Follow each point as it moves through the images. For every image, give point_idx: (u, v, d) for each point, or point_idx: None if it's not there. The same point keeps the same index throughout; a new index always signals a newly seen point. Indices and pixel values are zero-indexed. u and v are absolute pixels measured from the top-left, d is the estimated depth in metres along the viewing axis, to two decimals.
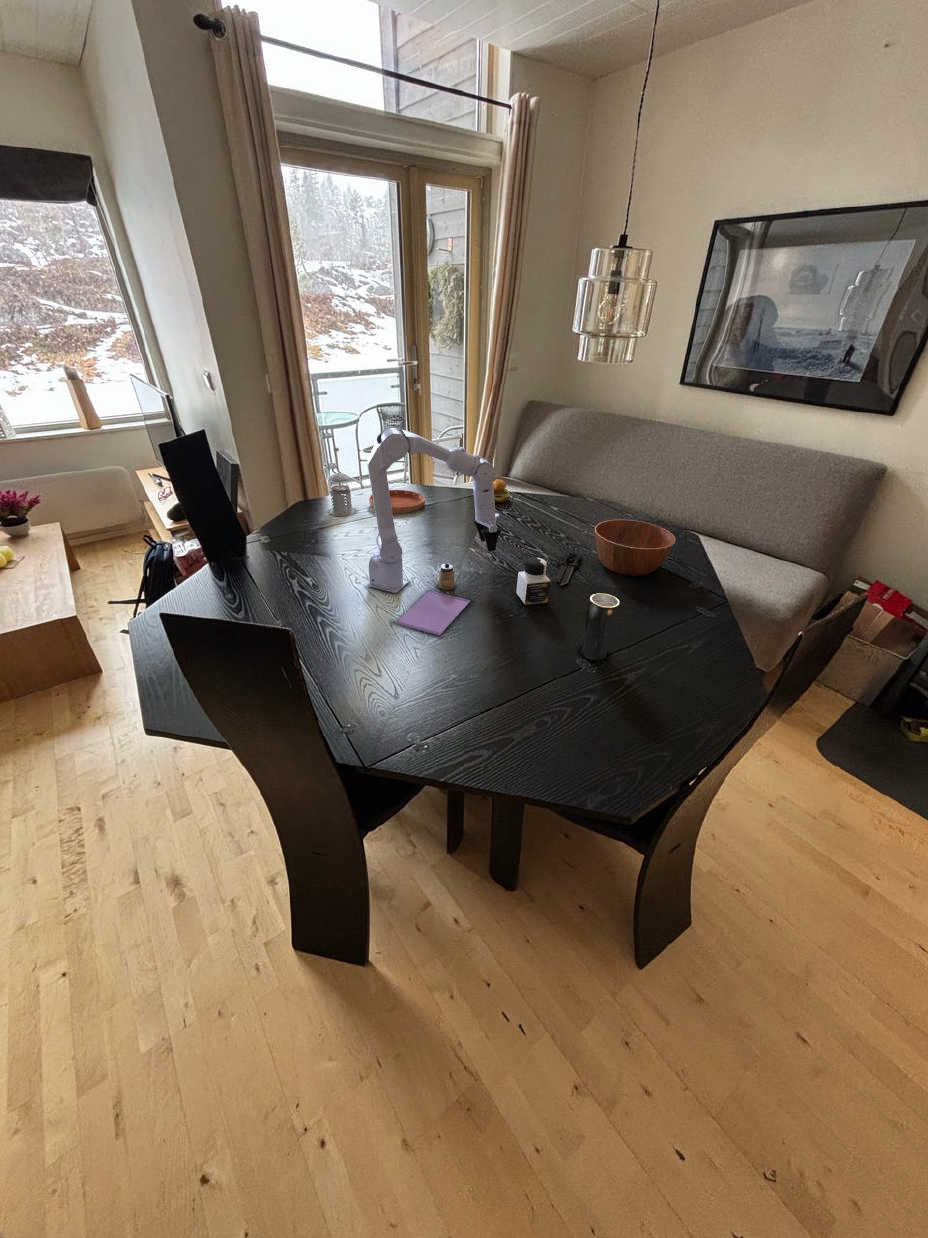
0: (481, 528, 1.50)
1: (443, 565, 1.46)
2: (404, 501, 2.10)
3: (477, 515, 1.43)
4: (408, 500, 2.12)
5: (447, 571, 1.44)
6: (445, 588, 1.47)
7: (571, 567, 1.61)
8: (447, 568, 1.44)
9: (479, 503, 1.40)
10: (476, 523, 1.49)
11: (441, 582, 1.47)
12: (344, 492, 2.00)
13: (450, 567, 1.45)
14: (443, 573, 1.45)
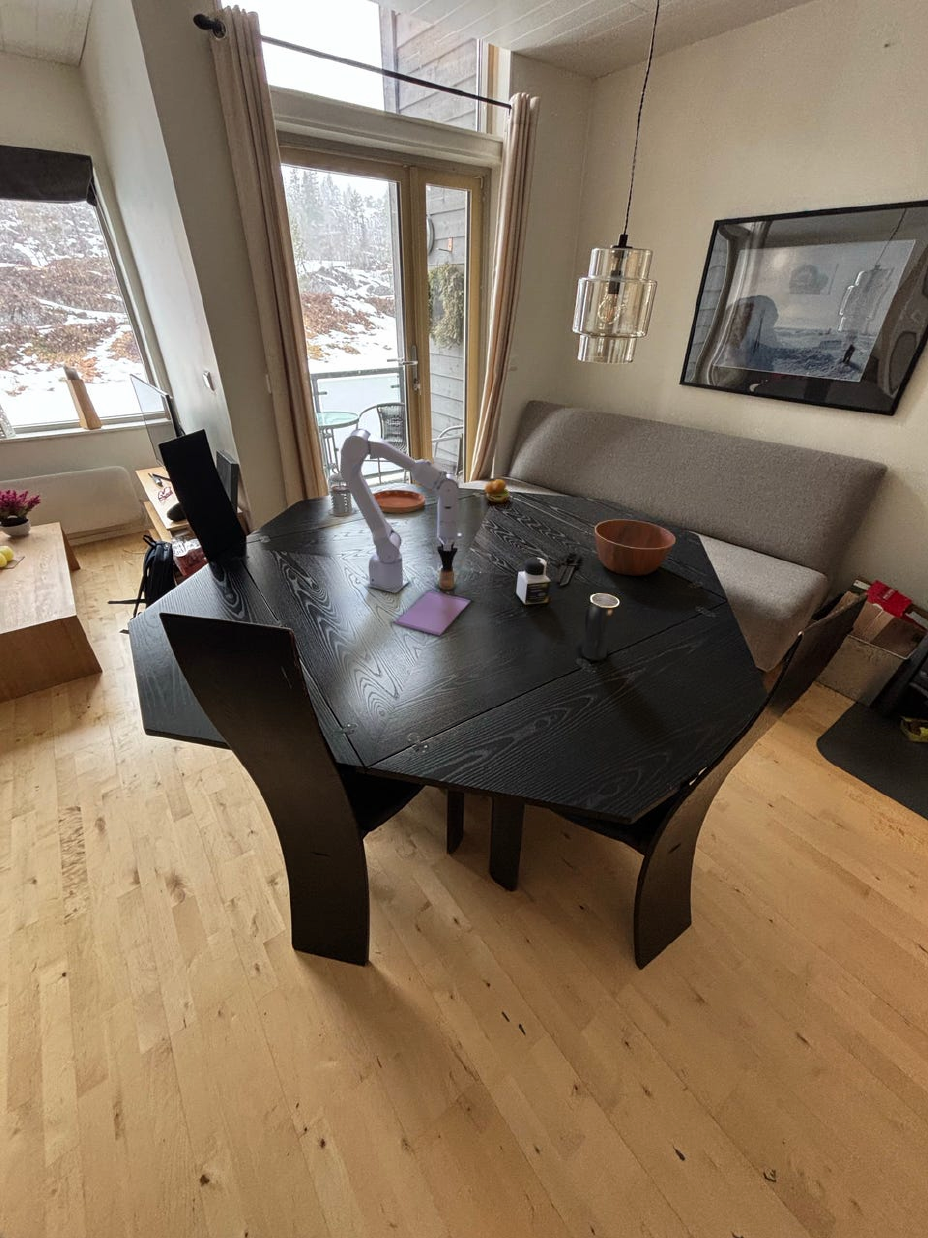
0: None
1: None
2: (404, 501, 2.10)
3: (438, 531, 1.39)
4: (408, 500, 2.12)
5: (447, 571, 1.44)
6: (445, 588, 1.47)
7: (571, 567, 1.61)
8: None
9: (440, 519, 1.36)
10: None
11: (441, 582, 1.47)
12: (344, 492, 2.00)
13: None
14: (443, 573, 1.45)
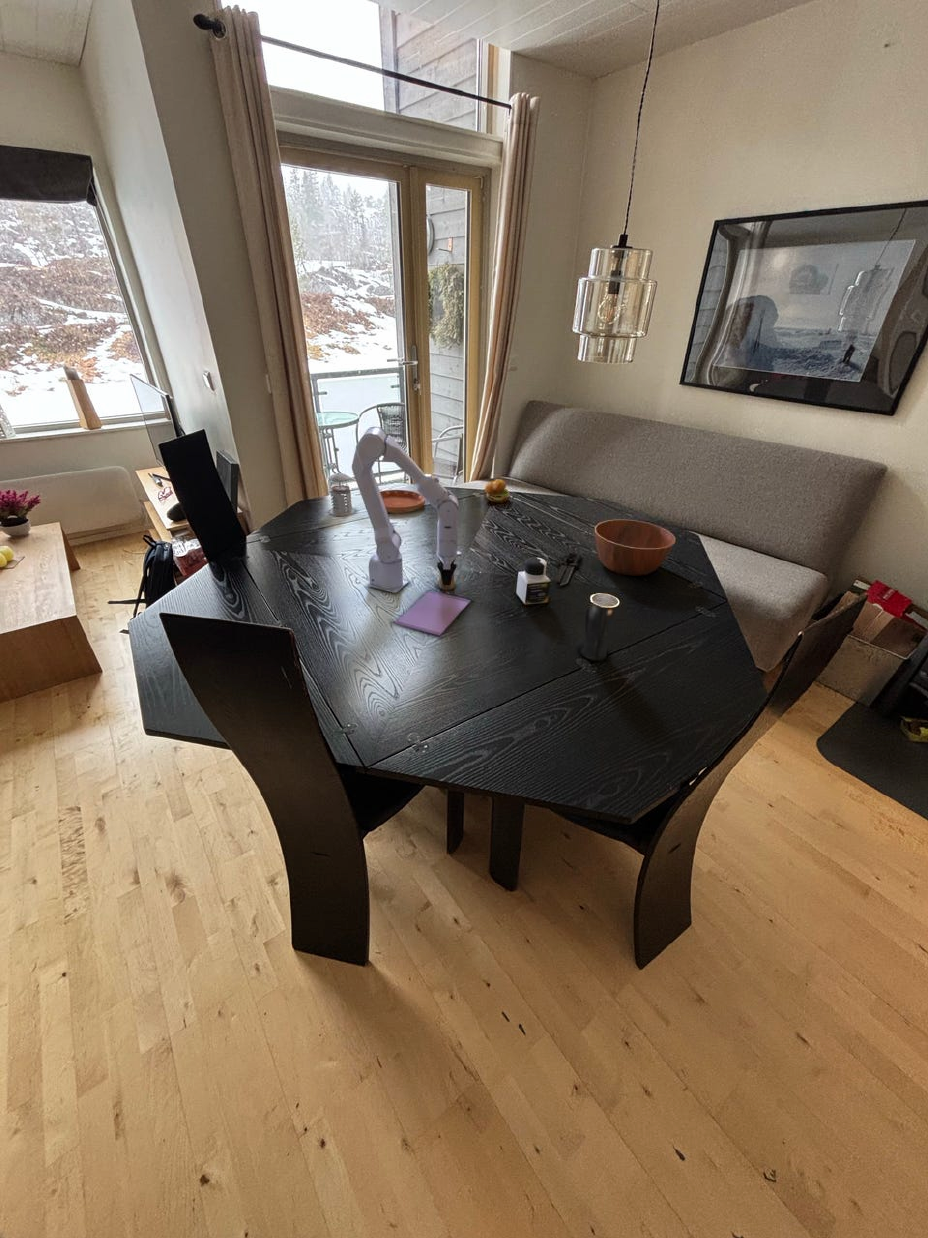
0: None
1: None
2: (404, 501, 2.10)
3: (437, 549, 1.42)
4: (408, 500, 2.12)
5: None
6: (445, 588, 1.47)
7: (571, 567, 1.61)
8: None
9: (440, 538, 1.39)
10: None
11: (441, 582, 1.47)
12: (344, 492, 2.00)
13: None
14: None
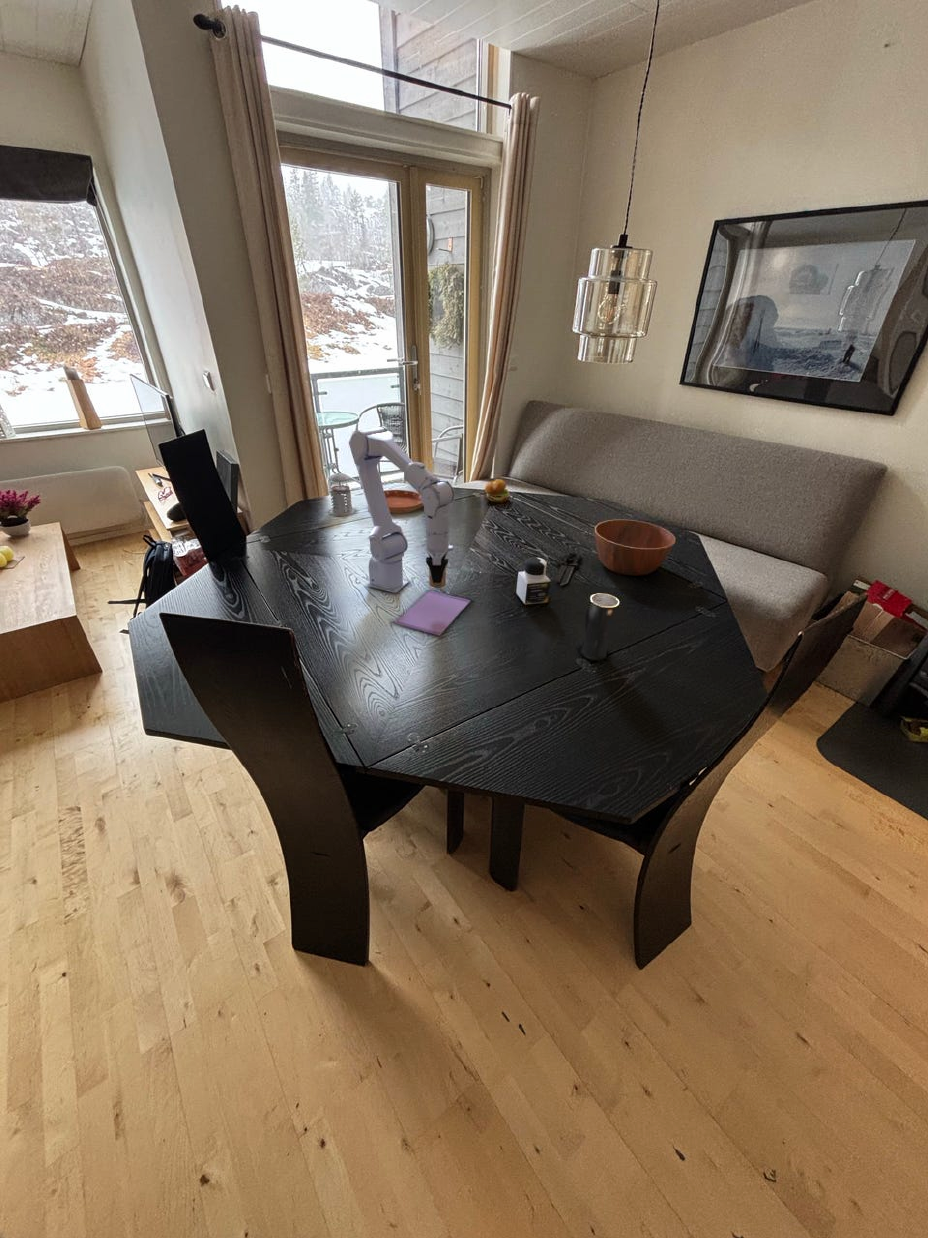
0: None
1: None
2: (404, 501, 2.10)
3: (427, 543, 1.27)
4: (408, 500, 2.12)
5: None
6: (436, 586, 1.33)
7: (571, 567, 1.61)
8: None
9: (426, 527, 1.26)
10: None
11: (431, 579, 1.32)
12: (344, 492, 2.00)
13: None
14: None
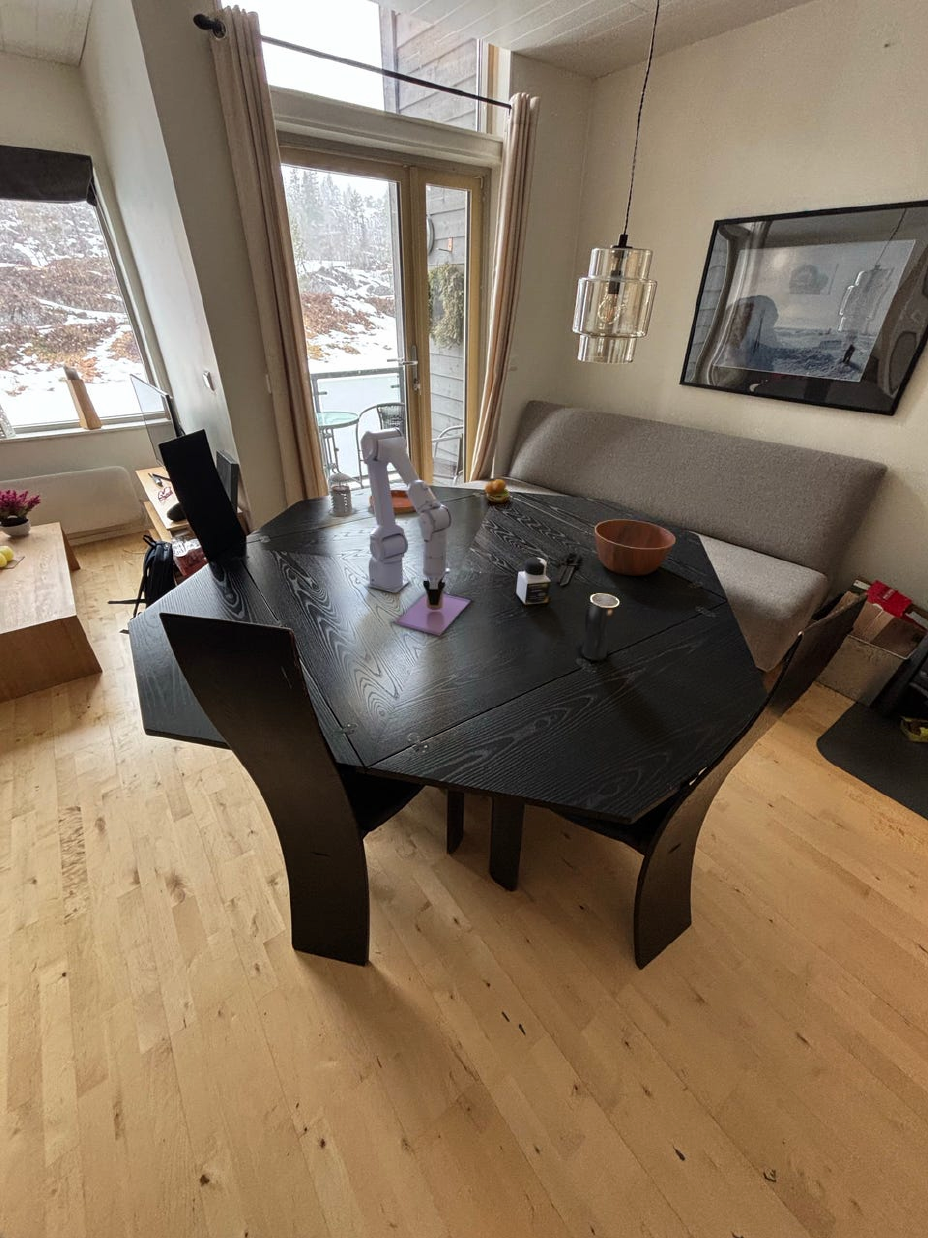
0: None
1: None
2: (404, 501, 2.10)
3: (424, 566, 1.28)
4: (408, 500, 2.12)
5: None
6: (433, 608, 1.33)
7: (571, 567, 1.61)
8: None
9: None
10: None
11: (428, 602, 1.33)
12: (344, 492, 2.00)
13: None
14: None
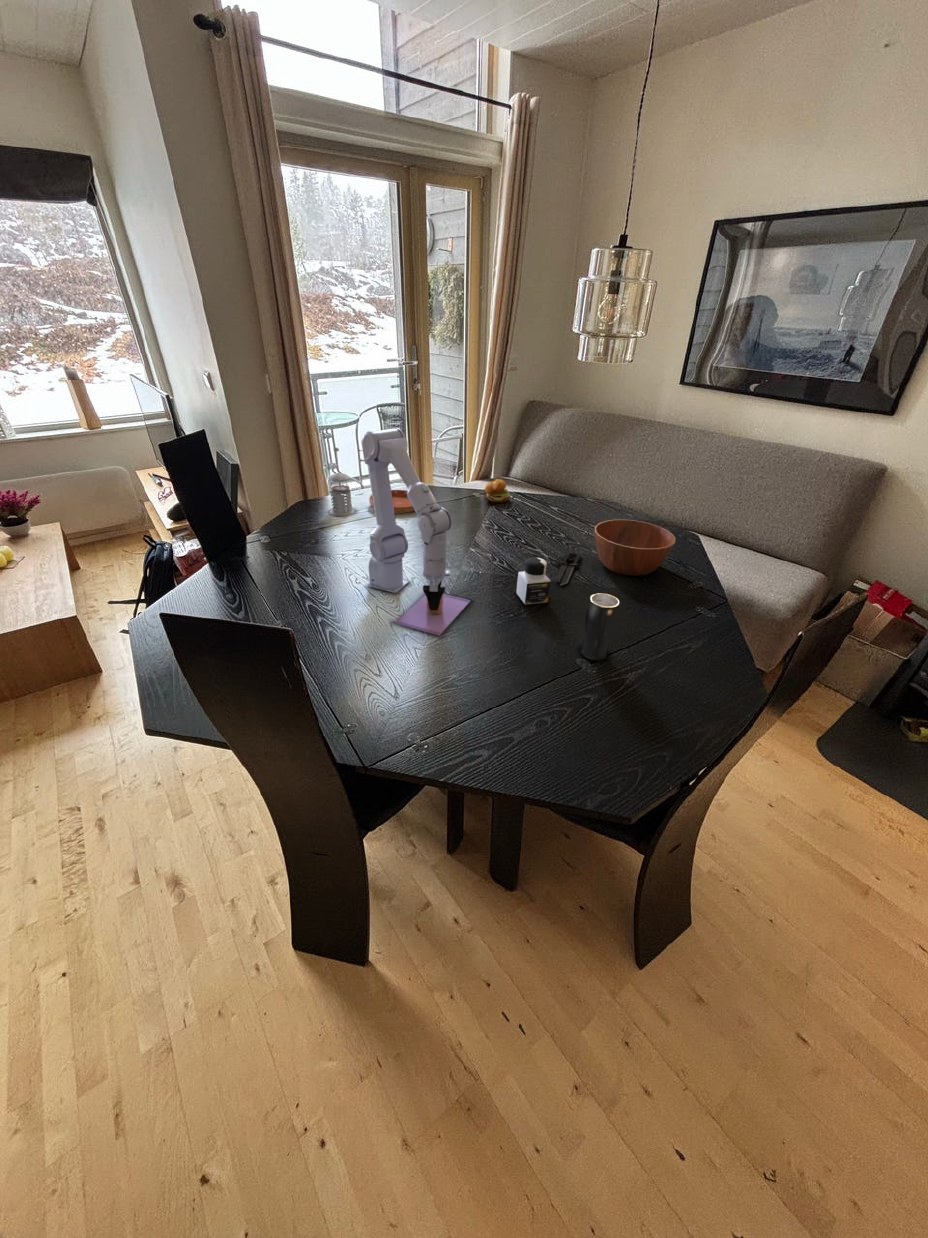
0: None
1: None
2: (404, 501, 2.10)
3: (424, 568, 1.28)
4: (408, 500, 2.12)
5: None
6: (433, 613, 1.34)
7: (571, 567, 1.61)
8: None
9: None
10: None
11: (428, 607, 1.33)
12: (344, 492, 2.00)
13: None
14: None
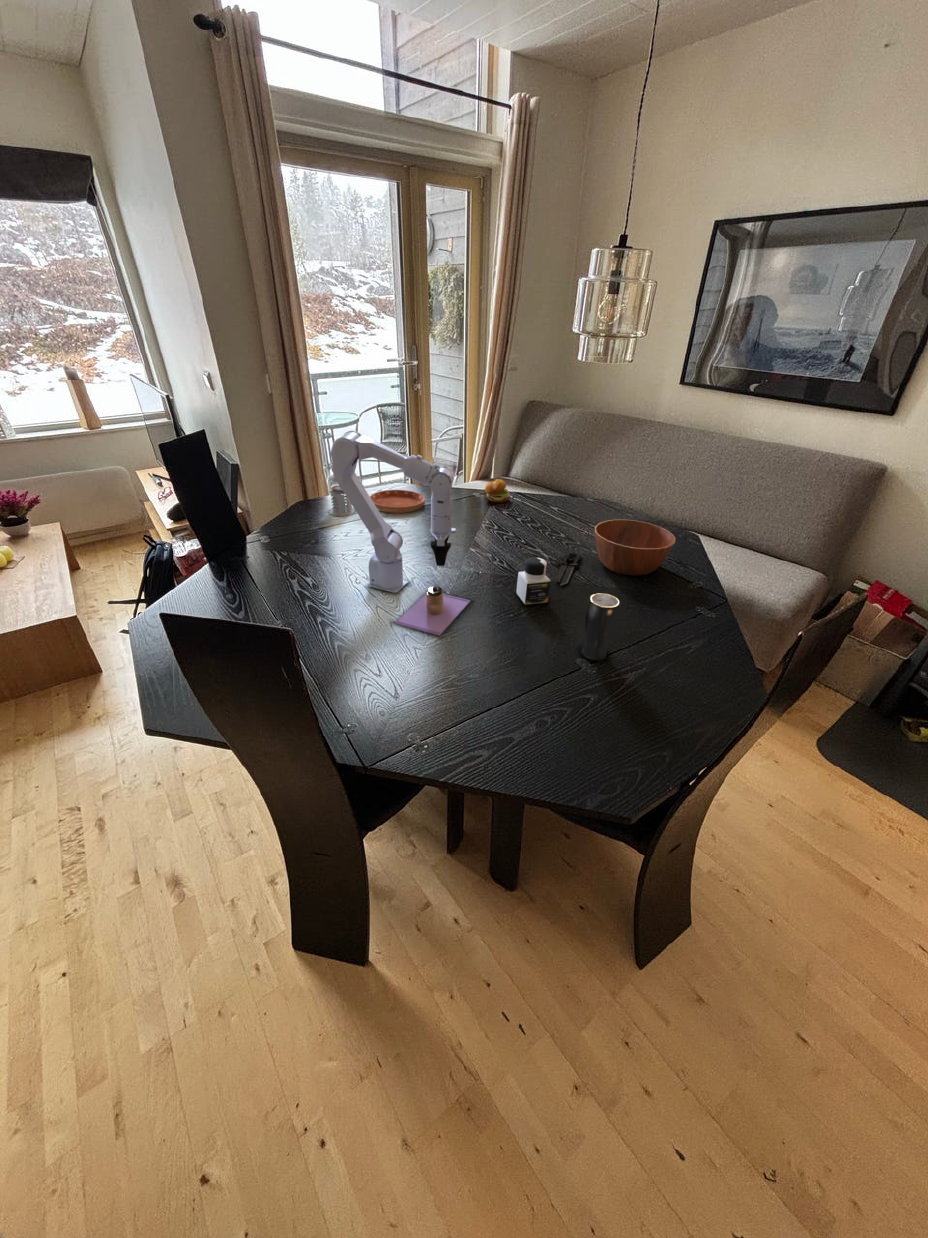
0: None
1: (431, 588, 1.33)
2: (404, 501, 2.10)
3: (431, 525, 1.36)
4: (408, 500, 2.12)
5: (435, 595, 1.31)
6: (433, 613, 1.34)
7: (571, 567, 1.61)
8: (435, 592, 1.31)
9: (433, 513, 1.34)
10: None
11: (428, 607, 1.33)
12: None
13: (438, 591, 1.32)
14: (430, 598, 1.32)
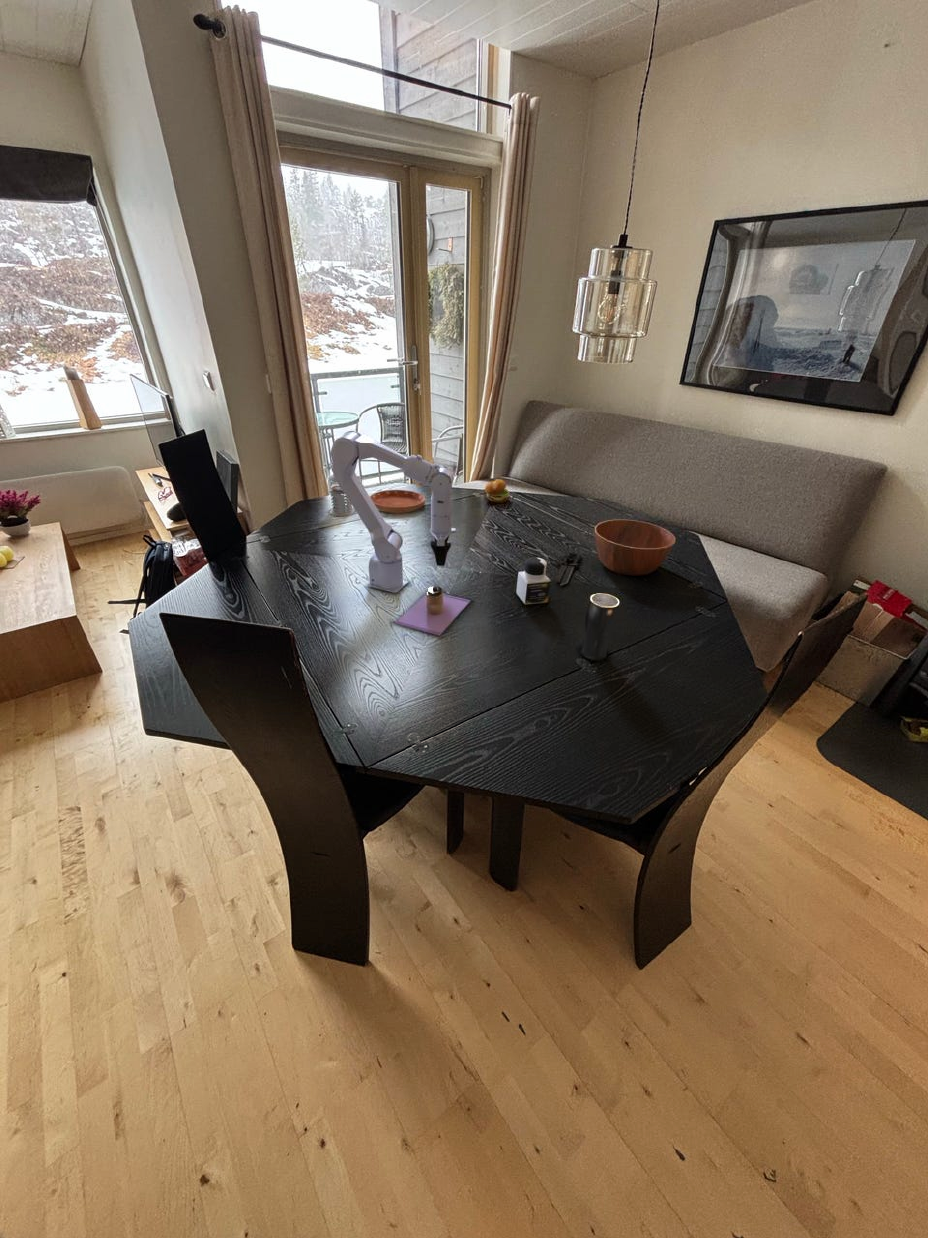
0: None
1: (431, 588, 1.33)
2: (404, 501, 2.10)
3: (431, 525, 1.36)
4: (408, 500, 2.12)
5: (435, 595, 1.31)
6: (433, 613, 1.34)
7: (571, 567, 1.61)
8: (435, 592, 1.31)
9: (433, 513, 1.34)
10: None
11: (428, 607, 1.33)
12: None
13: (438, 591, 1.32)
14: (430, 598, 1.32)
